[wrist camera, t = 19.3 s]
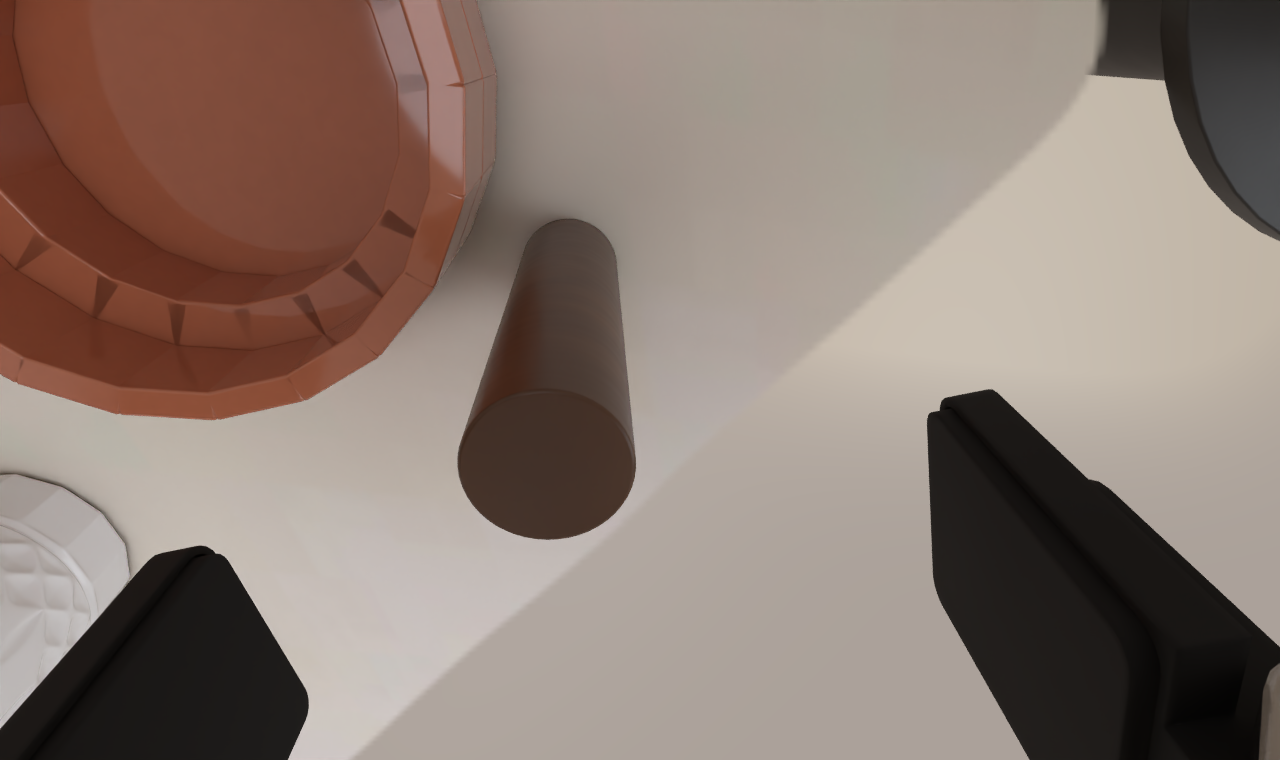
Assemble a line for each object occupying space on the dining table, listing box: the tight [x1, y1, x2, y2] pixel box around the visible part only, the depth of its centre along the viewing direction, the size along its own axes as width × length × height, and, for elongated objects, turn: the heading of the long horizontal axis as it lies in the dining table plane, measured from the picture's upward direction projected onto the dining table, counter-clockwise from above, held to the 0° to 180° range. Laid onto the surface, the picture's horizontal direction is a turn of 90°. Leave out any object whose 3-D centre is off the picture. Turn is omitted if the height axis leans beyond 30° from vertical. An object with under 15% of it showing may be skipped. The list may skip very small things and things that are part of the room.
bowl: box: [0, 0, 497, 420], centre depth 17 cm, size 15×15×6 cm
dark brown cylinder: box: [458, 219, 636, 540], centre depth 17 cm, size 3×3×12 cm
